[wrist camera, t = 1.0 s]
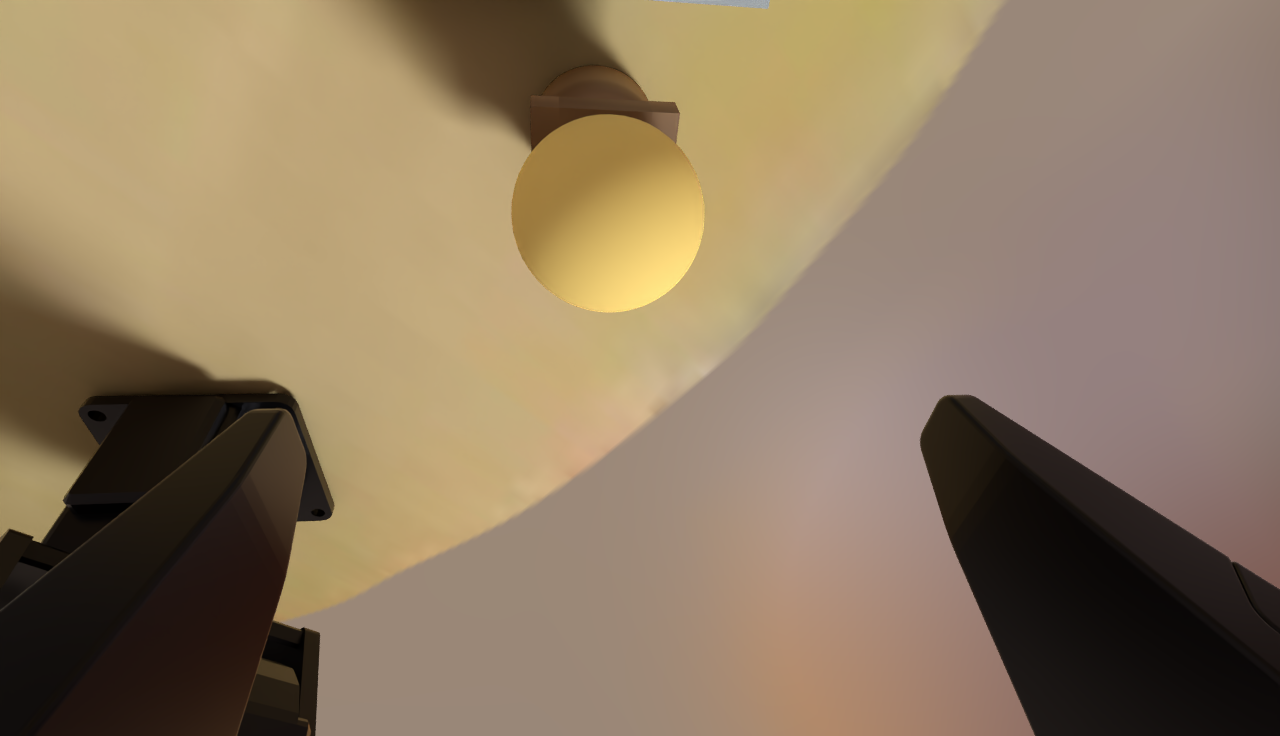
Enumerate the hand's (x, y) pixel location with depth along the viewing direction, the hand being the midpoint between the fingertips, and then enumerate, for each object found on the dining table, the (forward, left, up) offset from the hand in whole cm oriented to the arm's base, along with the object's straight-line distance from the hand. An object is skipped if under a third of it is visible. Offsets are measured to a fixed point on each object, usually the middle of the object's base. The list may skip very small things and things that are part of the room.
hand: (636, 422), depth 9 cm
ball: (0, 0, -6) cm, 6 cm away
